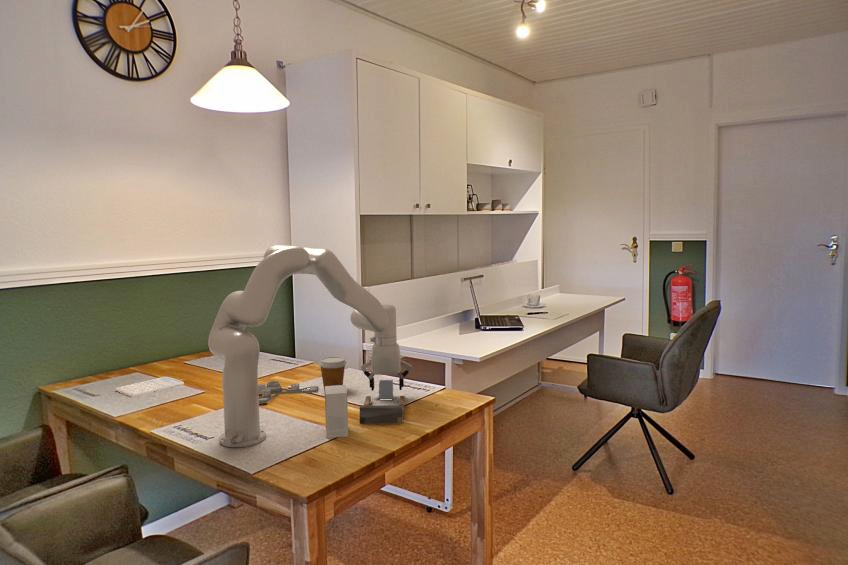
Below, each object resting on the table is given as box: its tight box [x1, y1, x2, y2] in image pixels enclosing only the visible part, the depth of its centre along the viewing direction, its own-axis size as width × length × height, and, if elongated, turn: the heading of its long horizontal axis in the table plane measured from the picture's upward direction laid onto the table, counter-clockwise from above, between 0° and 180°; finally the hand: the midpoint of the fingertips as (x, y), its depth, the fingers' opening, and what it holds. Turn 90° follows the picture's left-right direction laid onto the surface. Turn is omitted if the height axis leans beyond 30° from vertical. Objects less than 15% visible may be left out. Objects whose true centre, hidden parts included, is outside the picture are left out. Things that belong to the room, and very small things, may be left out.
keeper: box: [378, 379, 394, 400], centre depth 202 cm, size 4×4×6 cm
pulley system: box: [258, 380, 319, 404], centre depth 208 cm, size 27×5×15 cm
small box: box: [324, 384, 349, 439], centre depth 170 cm, size 8×6×13 cm
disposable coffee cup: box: [318, 356, 347, 393], centre depth 209 cm, size 10×10×12 cm
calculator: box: [115, 376, 185, 397], centre depth 216 cm, size 13×20×2 cm, turn 141°
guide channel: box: [359, 395, 406, 425], centre depth 188 cm, size 21×13×5 cm, turn 0°
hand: (386, 389), depth 202 cm, fingers open, 9 cm apart
